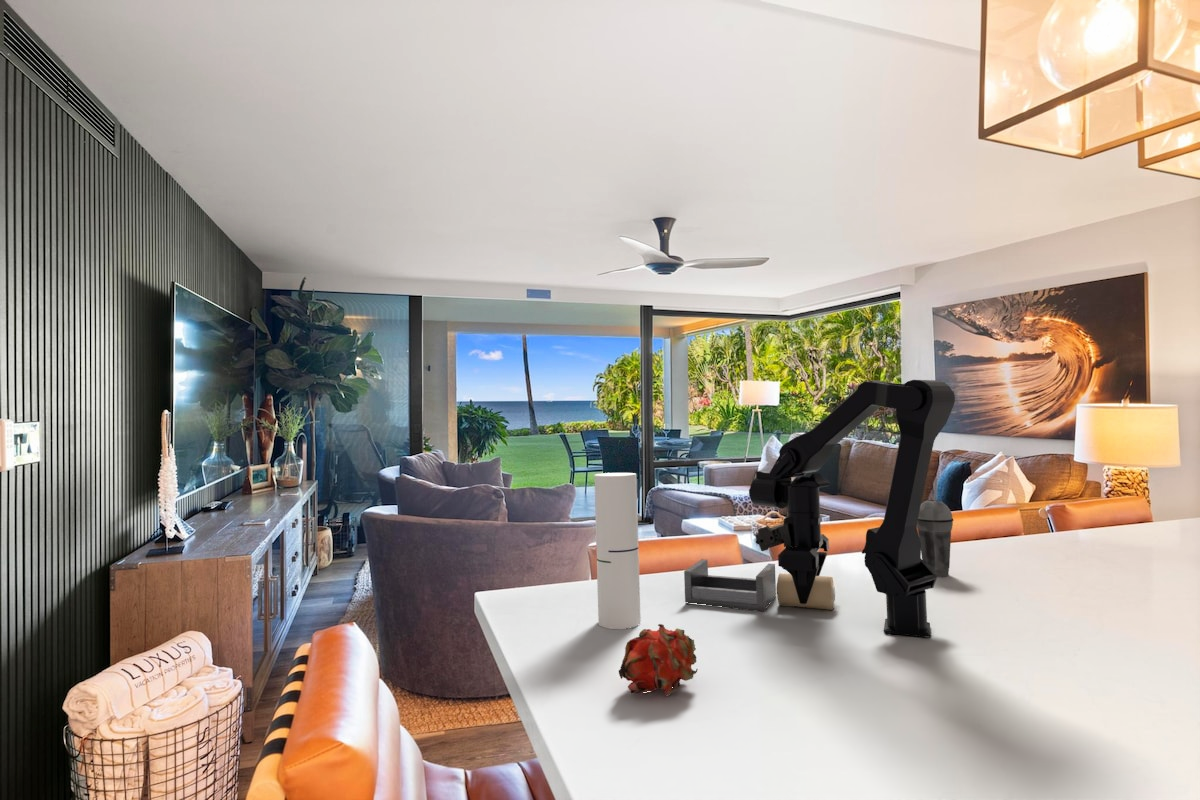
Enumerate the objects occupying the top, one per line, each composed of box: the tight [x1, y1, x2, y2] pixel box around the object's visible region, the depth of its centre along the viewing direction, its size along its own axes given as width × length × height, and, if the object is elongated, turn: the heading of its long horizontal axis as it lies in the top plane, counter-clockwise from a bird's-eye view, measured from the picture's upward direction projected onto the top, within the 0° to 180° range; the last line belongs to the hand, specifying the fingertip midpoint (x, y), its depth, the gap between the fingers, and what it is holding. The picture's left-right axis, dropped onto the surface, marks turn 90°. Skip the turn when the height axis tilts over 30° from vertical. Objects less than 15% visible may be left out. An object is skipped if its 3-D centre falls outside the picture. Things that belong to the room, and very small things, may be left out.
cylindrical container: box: [594, 472, 642, 630], centre depth 112 cm, size 7×7×25 cm
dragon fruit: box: [618, 623, 699, 696], centre depth 84 cm, size 8×8×12 cm
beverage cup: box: [917, 478, 954, 578], centre depth 139 cm, size 7×7×20 cm
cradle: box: [683, 558, 777, 612], centre depth 124 cm, size 14×11×6 cm
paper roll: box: [776, 572, 836, 611], centre depth 119 cm, size 10×6×6 cm, turn 64°
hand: (806, 598), depth 119 cm, fingers open, 7 cm apart
